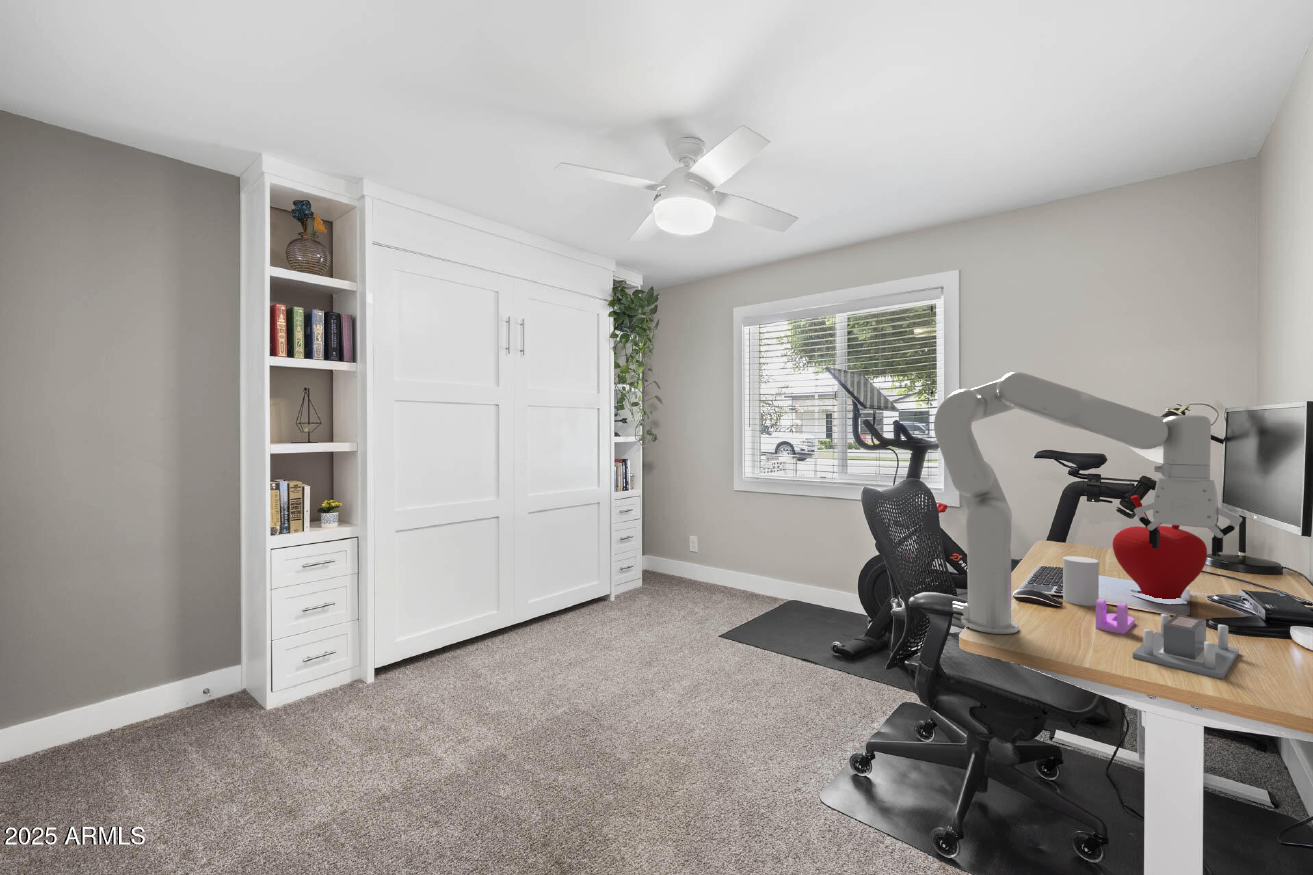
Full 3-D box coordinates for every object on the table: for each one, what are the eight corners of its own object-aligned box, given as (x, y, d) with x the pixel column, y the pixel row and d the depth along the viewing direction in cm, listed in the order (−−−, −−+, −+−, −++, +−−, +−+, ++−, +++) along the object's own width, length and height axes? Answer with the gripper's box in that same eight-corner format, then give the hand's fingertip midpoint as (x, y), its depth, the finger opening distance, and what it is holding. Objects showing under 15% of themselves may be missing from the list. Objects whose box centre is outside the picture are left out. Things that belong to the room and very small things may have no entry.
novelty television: (1173, 591, 173) (1173, 491, 172) (1218, 605, 160) (1218, 496, 159) (1107, 594, 171) (1107, 492, 171) (1147, 607, 158) (1147, 498, 158)
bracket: (1124, 634, 139) (1124, 605, 139) (1095, 628, 143) (1095, 600, 143) (1136, 622, 147) (1136, 595, 147) (1109, 617, 151) (1109, 590, 151)
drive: (1163, 652, 124) (1163, 624, 124) (1175, 640, 131) (1175, 613, 131) (1195, 659, 120) (1195, 630, 120) (1206, 647, 127) (1206, 619, 127)
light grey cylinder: (1105, 605, 160) (1105, 562, 160) (1076, 605, 161) (1076, 562, 160) (1084, 597, 169) (1084, 556, 168) (1056, 597, 169) (1056, 556, 169)
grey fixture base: (1132, 657, 125) (1132, 629, 125) (1155, 635, 137) (1155, 610, 137) (1222, 679, 114) (1222, 648, 114) (1238, 653, 126) (1238, 626, 126)
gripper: (1130, 471, 129) (1129, 547, 130) (1239, 476, 116) (1238, 561, 116) (1139, 469, 134) (1138, 543, 134) (1245, 474, 120) (1243, 556, 121)
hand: (1184, 551), depth 125 cm, fingers open, 9 cm apart
